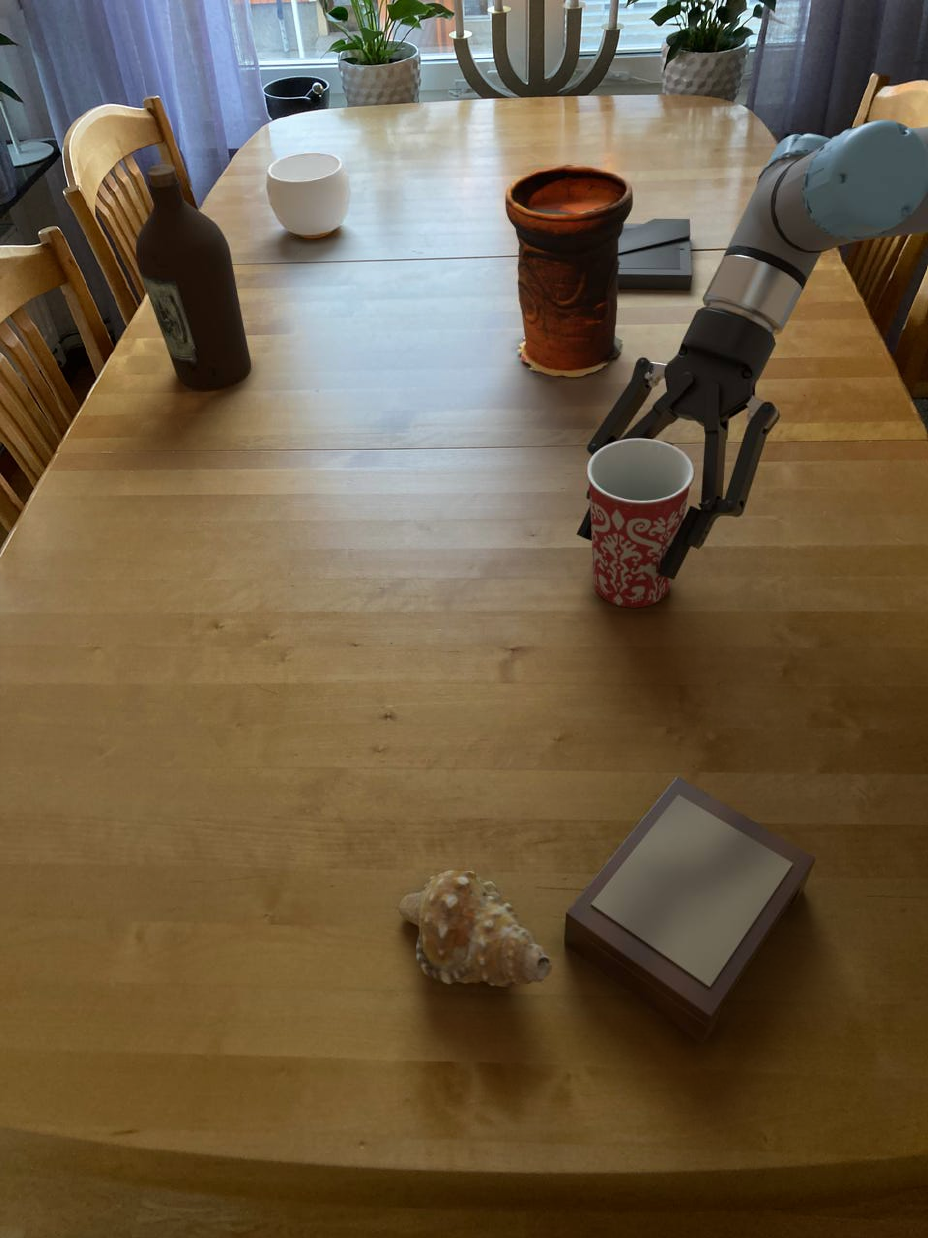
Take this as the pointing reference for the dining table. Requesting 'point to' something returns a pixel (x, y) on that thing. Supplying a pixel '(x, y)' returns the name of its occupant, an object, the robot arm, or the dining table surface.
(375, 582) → the dining table surface
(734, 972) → the brown rectangular block
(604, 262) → the vessel
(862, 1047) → the dining table surface
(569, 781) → the dining table surface
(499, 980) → the seashell
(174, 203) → the olive oil
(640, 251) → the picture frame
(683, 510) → the mug
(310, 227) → the cup
